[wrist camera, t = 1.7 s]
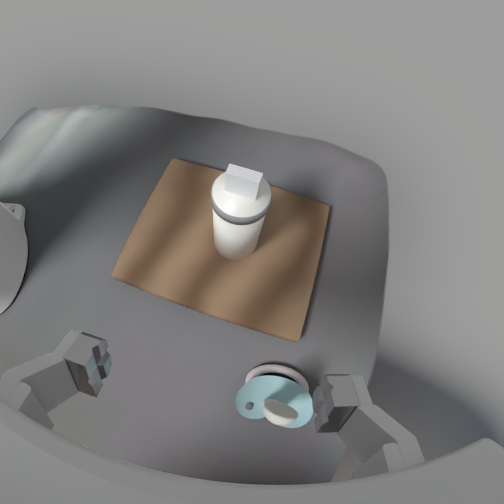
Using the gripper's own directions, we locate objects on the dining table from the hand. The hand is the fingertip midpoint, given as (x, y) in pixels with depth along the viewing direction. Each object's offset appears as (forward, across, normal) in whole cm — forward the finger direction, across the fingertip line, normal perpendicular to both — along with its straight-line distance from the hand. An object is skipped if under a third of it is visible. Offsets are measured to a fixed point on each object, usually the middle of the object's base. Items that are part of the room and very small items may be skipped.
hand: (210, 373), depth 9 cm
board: (+21, +1, +3) cm, 21 cm away
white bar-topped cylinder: (+20, 0, +2) cm, 20 cm away
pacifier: (+11, -6, +14) cm, 19 cm away
